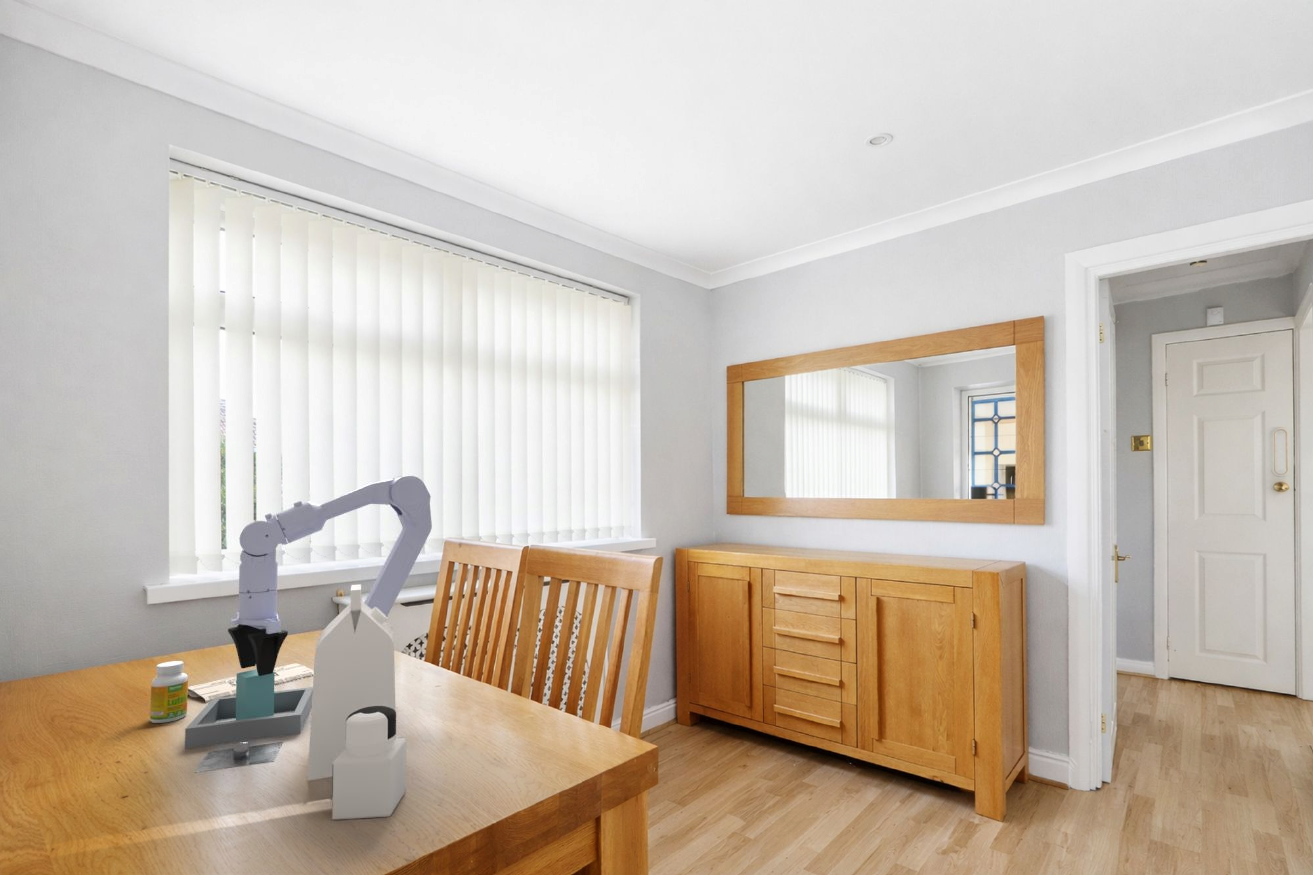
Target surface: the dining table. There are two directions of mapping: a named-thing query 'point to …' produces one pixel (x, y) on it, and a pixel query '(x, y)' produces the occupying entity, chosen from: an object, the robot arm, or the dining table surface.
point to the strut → (254, 695)
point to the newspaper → (229, 684)
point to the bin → (249, 720)
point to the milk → (348, 678)
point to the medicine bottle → (369, 766)
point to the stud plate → (239, 756)
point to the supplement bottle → (169, 693)
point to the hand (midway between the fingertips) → (256, 670)
